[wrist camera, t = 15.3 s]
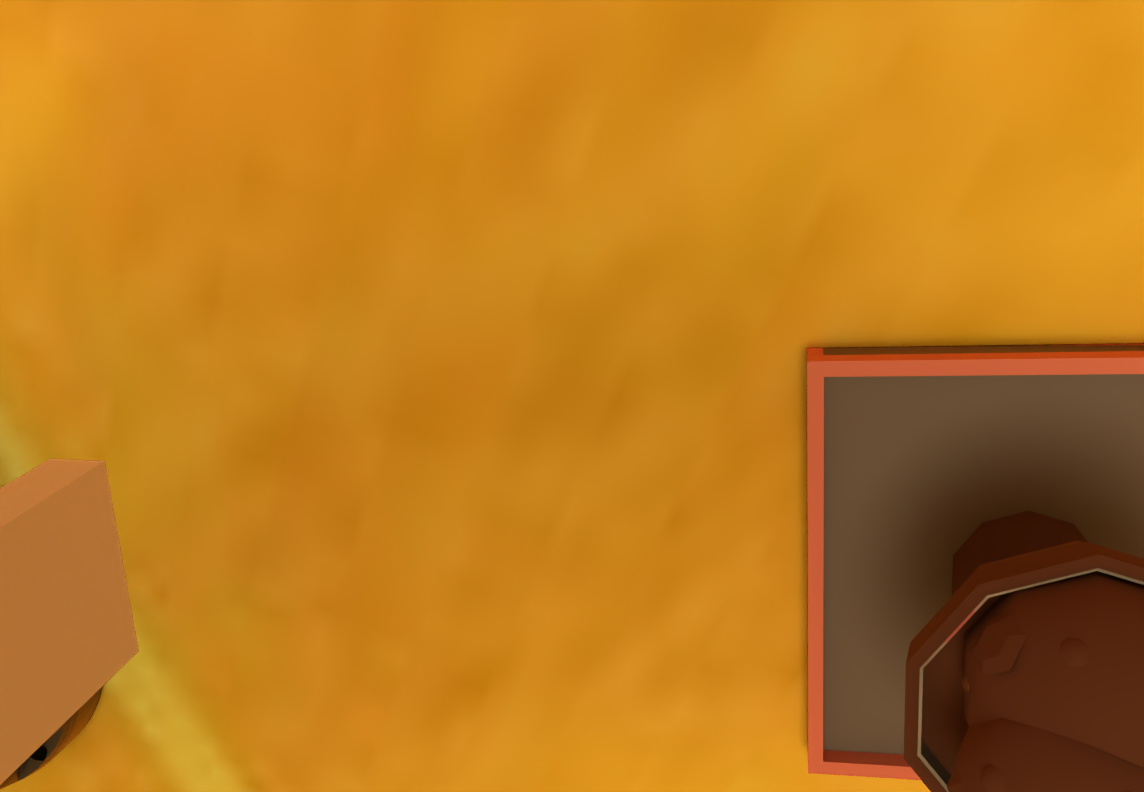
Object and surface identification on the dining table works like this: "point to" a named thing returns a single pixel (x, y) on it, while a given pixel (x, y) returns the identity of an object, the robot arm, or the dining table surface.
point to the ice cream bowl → (1031, 666)
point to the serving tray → (943, 502)
